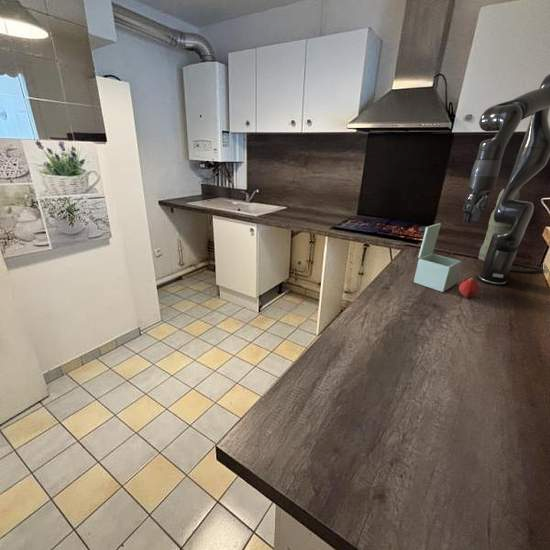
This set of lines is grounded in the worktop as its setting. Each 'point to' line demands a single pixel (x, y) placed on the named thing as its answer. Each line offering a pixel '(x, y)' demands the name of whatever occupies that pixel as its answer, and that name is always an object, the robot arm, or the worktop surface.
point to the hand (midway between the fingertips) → (470, 222)
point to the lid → (429, 239)
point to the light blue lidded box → (437, 272)
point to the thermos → (494, 229)
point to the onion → (468, 288)
